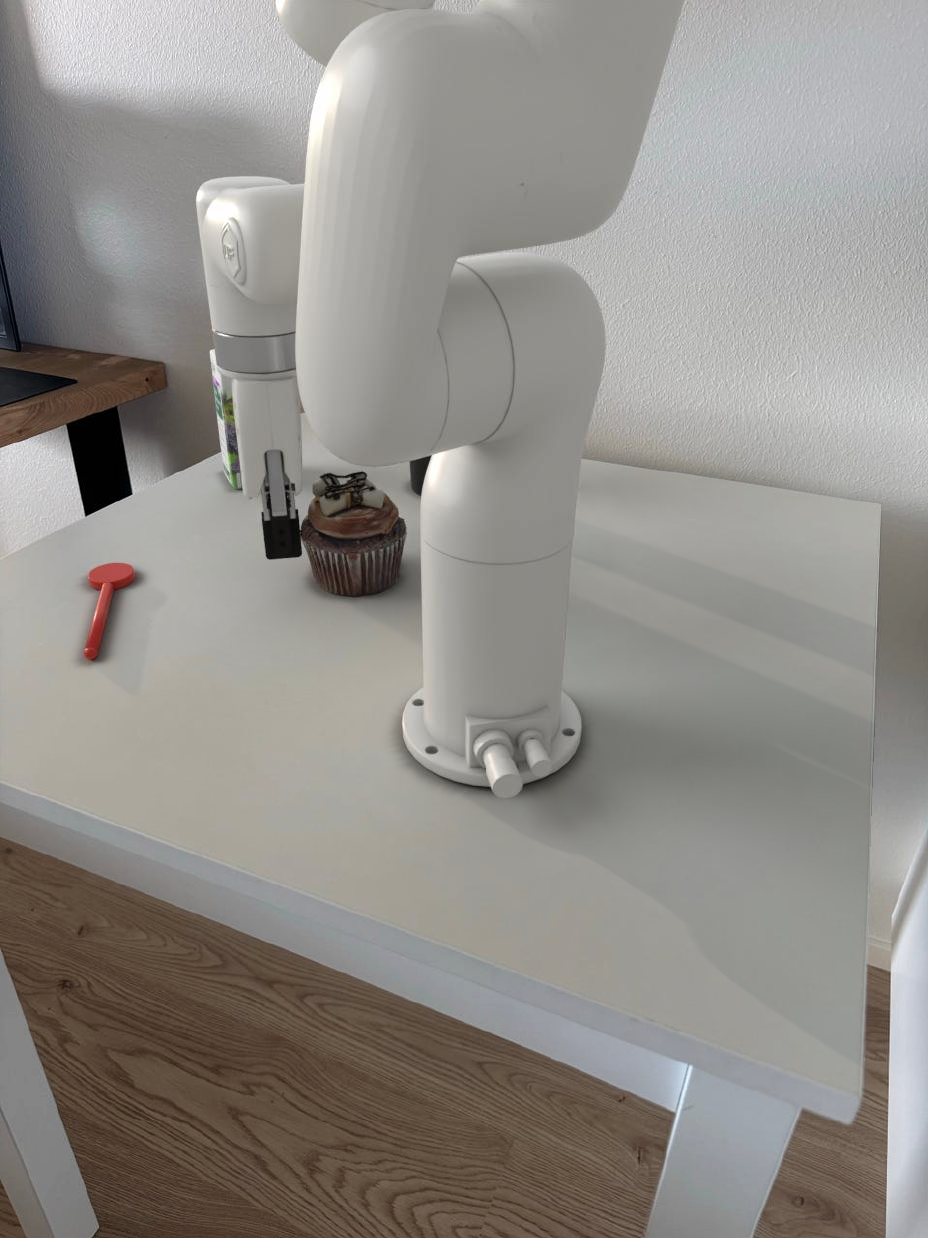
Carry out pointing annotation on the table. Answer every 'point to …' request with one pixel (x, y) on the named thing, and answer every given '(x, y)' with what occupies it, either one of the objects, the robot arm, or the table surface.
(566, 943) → the table surface
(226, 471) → the syrup box
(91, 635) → the spoon
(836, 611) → the table surface
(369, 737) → the table surface
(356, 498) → the cupcake
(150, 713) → the table surface
